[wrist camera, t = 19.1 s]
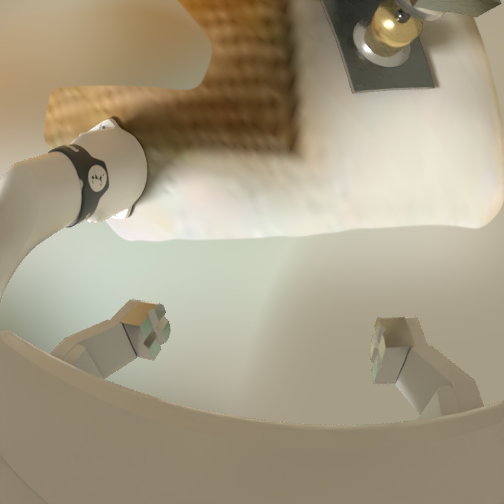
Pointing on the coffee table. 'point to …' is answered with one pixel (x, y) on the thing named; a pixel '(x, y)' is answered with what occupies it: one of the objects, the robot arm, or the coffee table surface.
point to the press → (404, 62)
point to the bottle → (391, 29)
